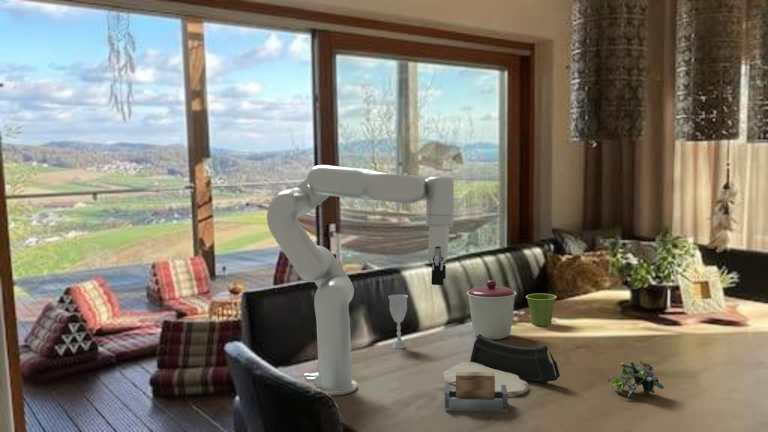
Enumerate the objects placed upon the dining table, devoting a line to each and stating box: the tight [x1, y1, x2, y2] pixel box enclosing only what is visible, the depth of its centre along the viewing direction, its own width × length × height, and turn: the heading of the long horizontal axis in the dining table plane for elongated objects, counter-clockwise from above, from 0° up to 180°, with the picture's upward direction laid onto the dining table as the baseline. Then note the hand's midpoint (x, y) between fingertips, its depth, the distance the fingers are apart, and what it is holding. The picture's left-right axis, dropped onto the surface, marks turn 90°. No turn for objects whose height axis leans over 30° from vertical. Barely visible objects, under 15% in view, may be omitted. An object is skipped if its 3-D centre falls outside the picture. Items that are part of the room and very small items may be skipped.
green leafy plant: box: [607, 360, 665, 399], centre depth 178 cm, size 11×11×12 cm
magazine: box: [469, 334, 561, 385], centre depth 198 cm, size 17×3×30 cm
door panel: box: [455, 372, 495, 398], centre depth 173 cm, size 10×3×8 cm, turn 84°
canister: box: [466, 279, 517, 341], centre depth 242 cm, size 18×18×21 cm
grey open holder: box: [444, 383, 509, 413], centre depth 173 cm, size 16×7×5 cm, turn 83°
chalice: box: [387, 293, 409, 350], centre depth 232 cm, size 7×7×18 cm
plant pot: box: [525, 293, 557, 327], centre depth 259 cm, size 12×12×11 cm
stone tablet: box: [442, 360, 529, 398], centre depth 192 cm, size 16×30×2 cm, turn 35°
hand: (438, 281), depth 184 cm, fingers open, 9 cm apart
